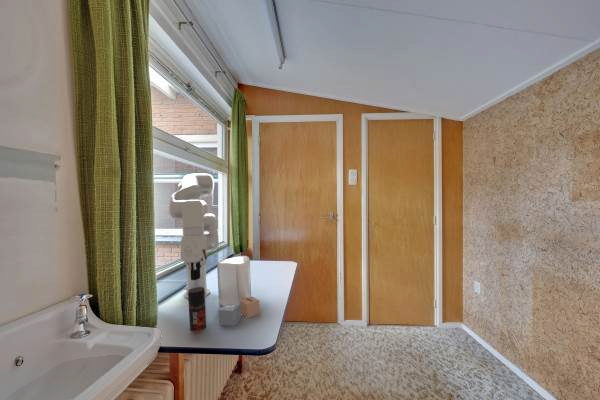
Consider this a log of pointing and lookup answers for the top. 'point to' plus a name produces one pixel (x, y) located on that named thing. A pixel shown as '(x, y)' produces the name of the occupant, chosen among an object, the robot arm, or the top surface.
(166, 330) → the top surface
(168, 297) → the top surface
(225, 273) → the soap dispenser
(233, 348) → the top surface
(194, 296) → the deodorant
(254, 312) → the terracotta block marked
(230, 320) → the slate block marked
